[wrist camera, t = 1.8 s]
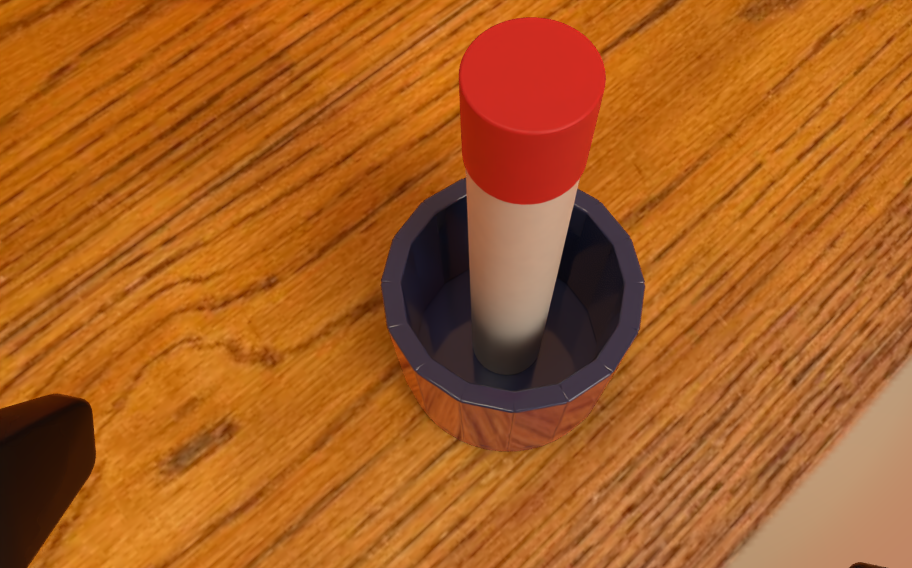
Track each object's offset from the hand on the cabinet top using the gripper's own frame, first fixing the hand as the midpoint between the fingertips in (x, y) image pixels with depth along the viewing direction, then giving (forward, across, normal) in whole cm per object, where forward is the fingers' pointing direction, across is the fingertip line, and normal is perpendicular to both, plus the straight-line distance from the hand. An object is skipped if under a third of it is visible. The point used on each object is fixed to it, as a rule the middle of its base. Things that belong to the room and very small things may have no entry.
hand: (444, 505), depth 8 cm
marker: (+12, 0, +4) cm, 13 cm away
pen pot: (+13, 0, +4) cm, 14 cm away
